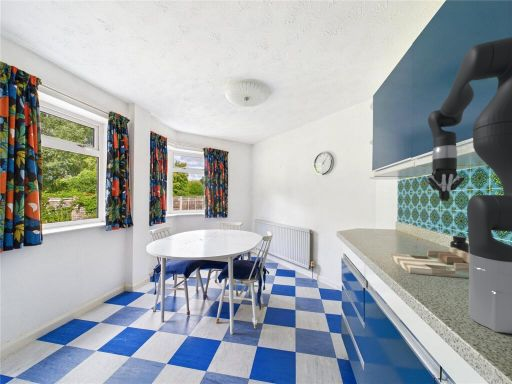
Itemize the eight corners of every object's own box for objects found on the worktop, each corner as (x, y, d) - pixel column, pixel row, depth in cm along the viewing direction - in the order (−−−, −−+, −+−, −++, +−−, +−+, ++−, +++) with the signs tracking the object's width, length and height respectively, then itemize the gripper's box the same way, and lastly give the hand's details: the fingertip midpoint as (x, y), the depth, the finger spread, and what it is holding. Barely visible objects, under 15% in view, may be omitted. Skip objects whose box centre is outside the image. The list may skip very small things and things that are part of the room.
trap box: (488, 280, 82) (488, 260, 82) (409, 273, 88) (410, 255, 88) (453, 263, 102) (453, 247, 102) (390, 258, 108) (391, 243, 108)
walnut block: (463, 265, 91) (463, 257, 91) (446, 264, 92) (446, 256, 92) (453, 261, 96) (453, 253, 96) (438, 260, 98) (438, 252, 98)
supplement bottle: (473, 262, 103) (473, 238, 103) (458, 262, 103) (459, 237, 103) (459, 258, 110) (460, 235, 110) (446, 258, 110) (446, 234, 110)
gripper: (431, 156, 84) (430, 200, 84) (470, 156, 81) (470, 201, 81) (420, 160, 91) (420, 200, 91) (456, 159, 88) (456, 200, 88)
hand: (444, 200), depth 86 cm, fingers closed
